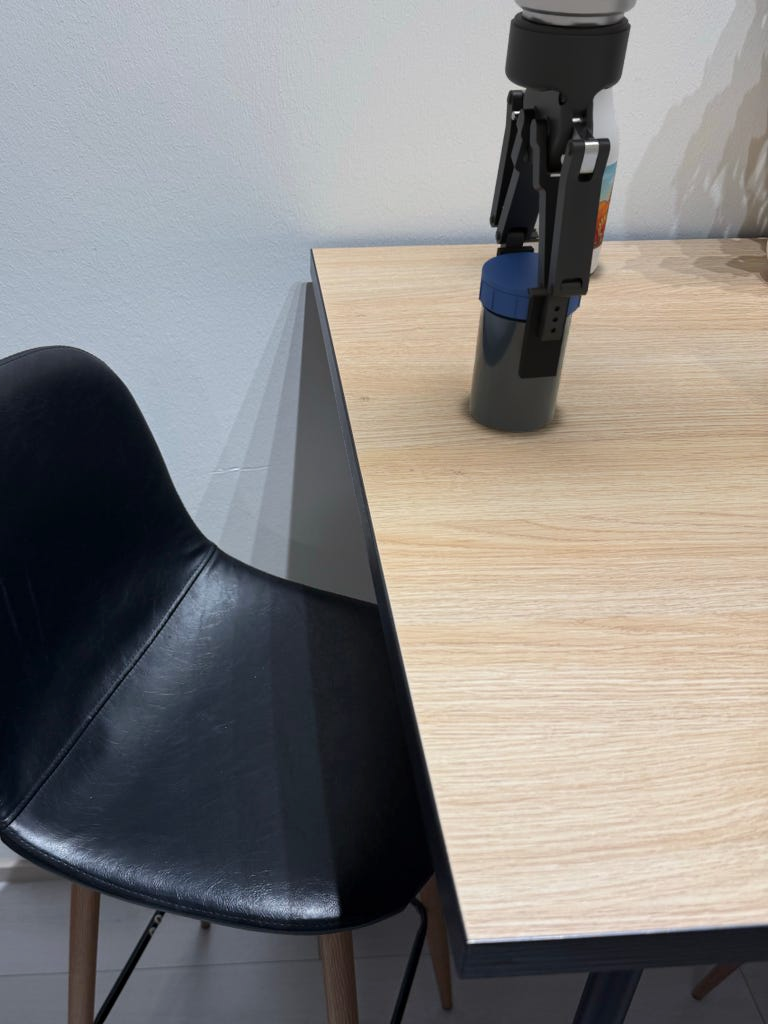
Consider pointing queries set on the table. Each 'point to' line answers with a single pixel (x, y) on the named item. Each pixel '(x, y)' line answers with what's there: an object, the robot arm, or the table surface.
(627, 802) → the table surface
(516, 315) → the lid
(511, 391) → the jar
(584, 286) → the robot arm
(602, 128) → the milk bottle
